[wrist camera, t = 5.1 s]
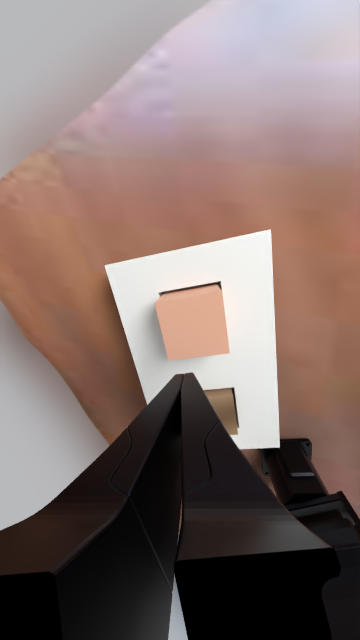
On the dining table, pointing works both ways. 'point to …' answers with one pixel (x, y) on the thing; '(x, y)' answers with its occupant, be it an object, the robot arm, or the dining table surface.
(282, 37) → the dining table surface
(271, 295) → the key panel
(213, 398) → the walnut key
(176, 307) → the terracotta key
